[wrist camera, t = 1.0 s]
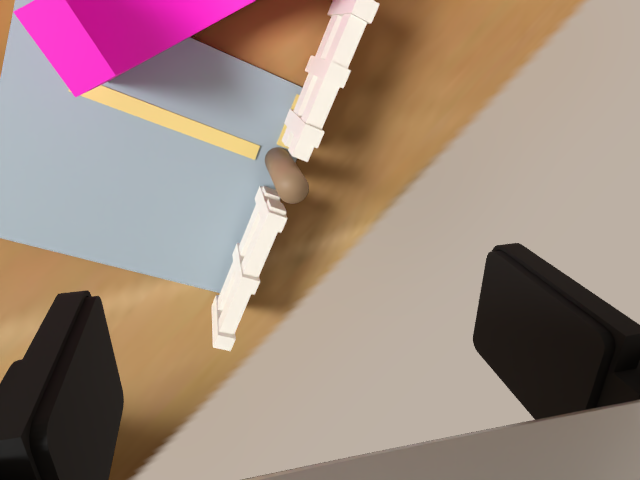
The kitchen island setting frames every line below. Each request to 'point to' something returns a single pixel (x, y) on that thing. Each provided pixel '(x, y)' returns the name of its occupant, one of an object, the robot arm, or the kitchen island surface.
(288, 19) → the kitchen island surface
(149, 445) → the kitchen island surface
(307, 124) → the fixed panel and post
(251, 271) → the swing panel
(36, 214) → the mat
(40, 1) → the toy block
